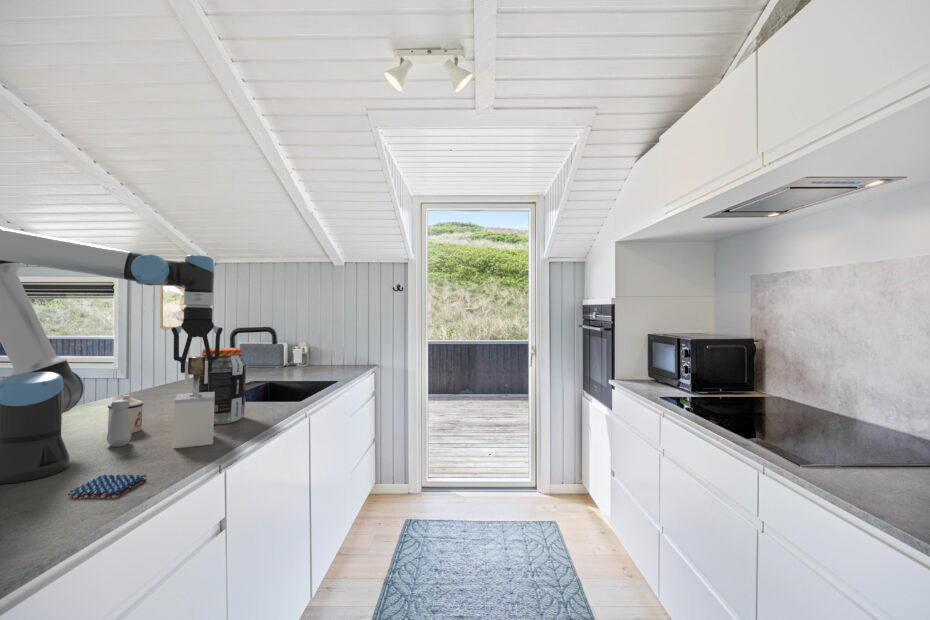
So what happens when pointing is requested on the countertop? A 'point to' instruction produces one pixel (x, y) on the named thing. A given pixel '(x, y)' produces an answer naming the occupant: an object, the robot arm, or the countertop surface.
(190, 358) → the wooden block topped rod
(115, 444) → the salt shaker
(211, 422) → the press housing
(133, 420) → the cream lidded canister
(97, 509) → the countertop surface
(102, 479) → the woven mat
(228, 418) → the supplement tub
